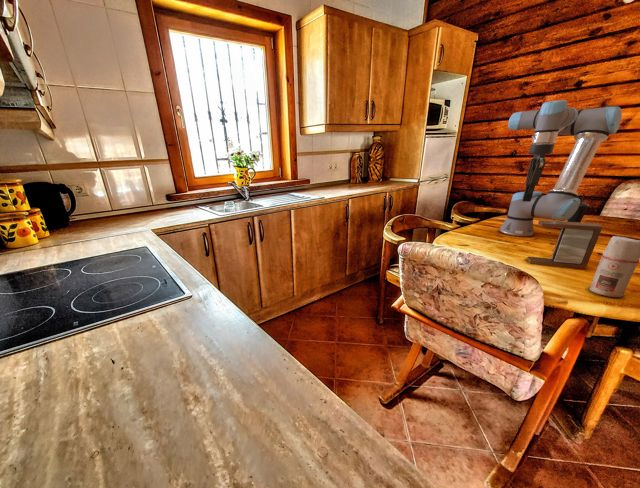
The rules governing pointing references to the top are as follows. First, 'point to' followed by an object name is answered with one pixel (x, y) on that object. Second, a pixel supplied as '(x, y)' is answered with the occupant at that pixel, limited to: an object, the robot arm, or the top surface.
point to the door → (558, 243)
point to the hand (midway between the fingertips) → (526, 201)
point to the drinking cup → (579, 212)
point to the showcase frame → (571, 244)
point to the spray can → (616, 267)
